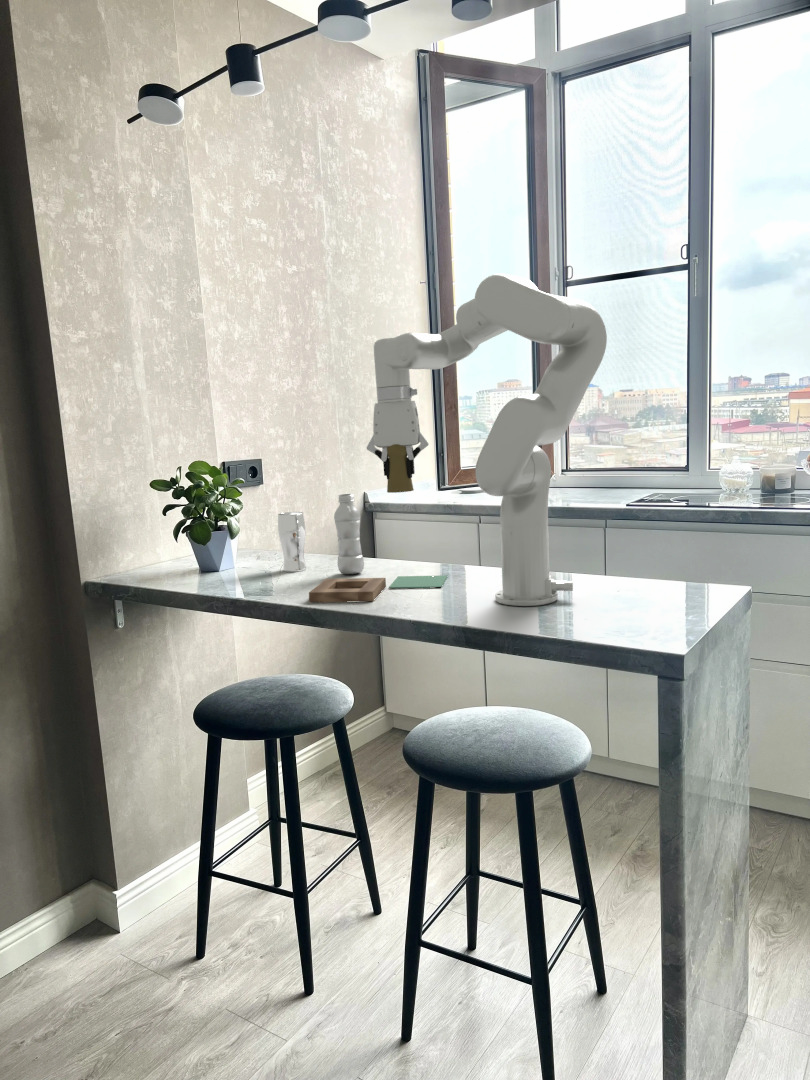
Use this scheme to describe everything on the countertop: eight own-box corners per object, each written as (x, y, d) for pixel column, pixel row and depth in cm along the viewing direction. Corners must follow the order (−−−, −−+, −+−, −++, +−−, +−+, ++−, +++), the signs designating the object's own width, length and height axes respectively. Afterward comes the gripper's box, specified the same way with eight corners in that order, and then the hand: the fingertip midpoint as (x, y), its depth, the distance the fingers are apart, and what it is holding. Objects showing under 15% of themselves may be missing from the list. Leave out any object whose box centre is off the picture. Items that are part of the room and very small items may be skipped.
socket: (386, 587, 180) (385, 577, 180) (373, 601, 166) (372, 591, 166) (326, 588, 182) (326, 578, 182) (309, 602, 169) (308, 592, 168)
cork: (414, 489, 180) (411, 440, 178) (412, 491, 174) (409, 441, 172) (388, 490, 181) (384, 442, 179) (385, 493, 175) (382, 443, 173)
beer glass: (279, 573, 204) (274, 515, 202) (284, 567, 211) (279, 512, 209) (305, 571, 204) (301, 514, 201) (310, 566, 211) (306, 511, 208)
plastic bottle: (361, 576, 194) (356, 495, 191) (335, 576, 195) (329, 496, 192) (367, 571, 200) (362, 492, 197) (341, 571, 201) (336, 493, 198)
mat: (447, 577, 187) (447, 575, 187) (441, 588, 176) (441, 586, 176) (398, 577, 189) (397, 576, 189) (388, 589, 178) (388, 587, 178)
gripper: (433, 393, 177) (438, 475, 179) (360, 398, 179) (366, 479, 182) (429, 392, 169) (435, 477, 172) (353, 398, 172) (360, 481, 174)
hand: (399, 477), depth 177 cm, fingers closed on cork, 4 cm apart
